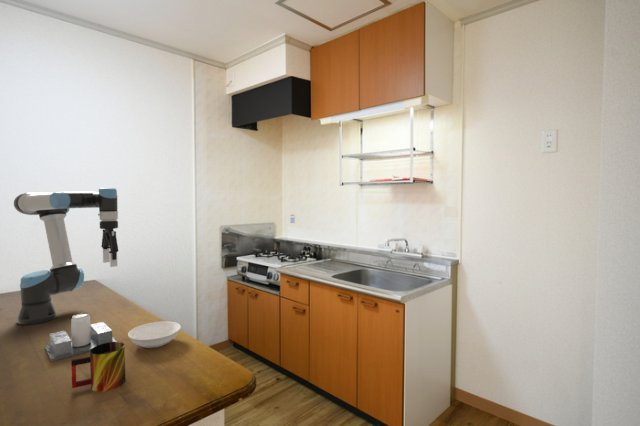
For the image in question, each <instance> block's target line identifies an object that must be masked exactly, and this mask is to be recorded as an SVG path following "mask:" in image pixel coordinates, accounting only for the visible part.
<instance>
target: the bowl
mask: <svg viewBox="0 0 640 426" xmlns="http://www.w3.org/2000/svg"><path fill="white" fill-rule="evenodd" d="M181 327H182V326H181V324H179V323H178V322H174V321H164V320H163V321H154V322H148V323H144V324H141V325H138V326H136V327H133V328H132V329H130V330H129V332H128V333H127V337H128V338H129V339H130V340H131V342H132V343H133V344H134V345H137V346H139V347H143V348H145V349H146V348H147V349H153V348H154V349H155V348H159V347H162V346H164V345H167V344H168V343H170V342H171V341H172V340H174V339H175V338H176V337H177V335H178V333H179V332H180V330H181Z"/></svg>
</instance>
